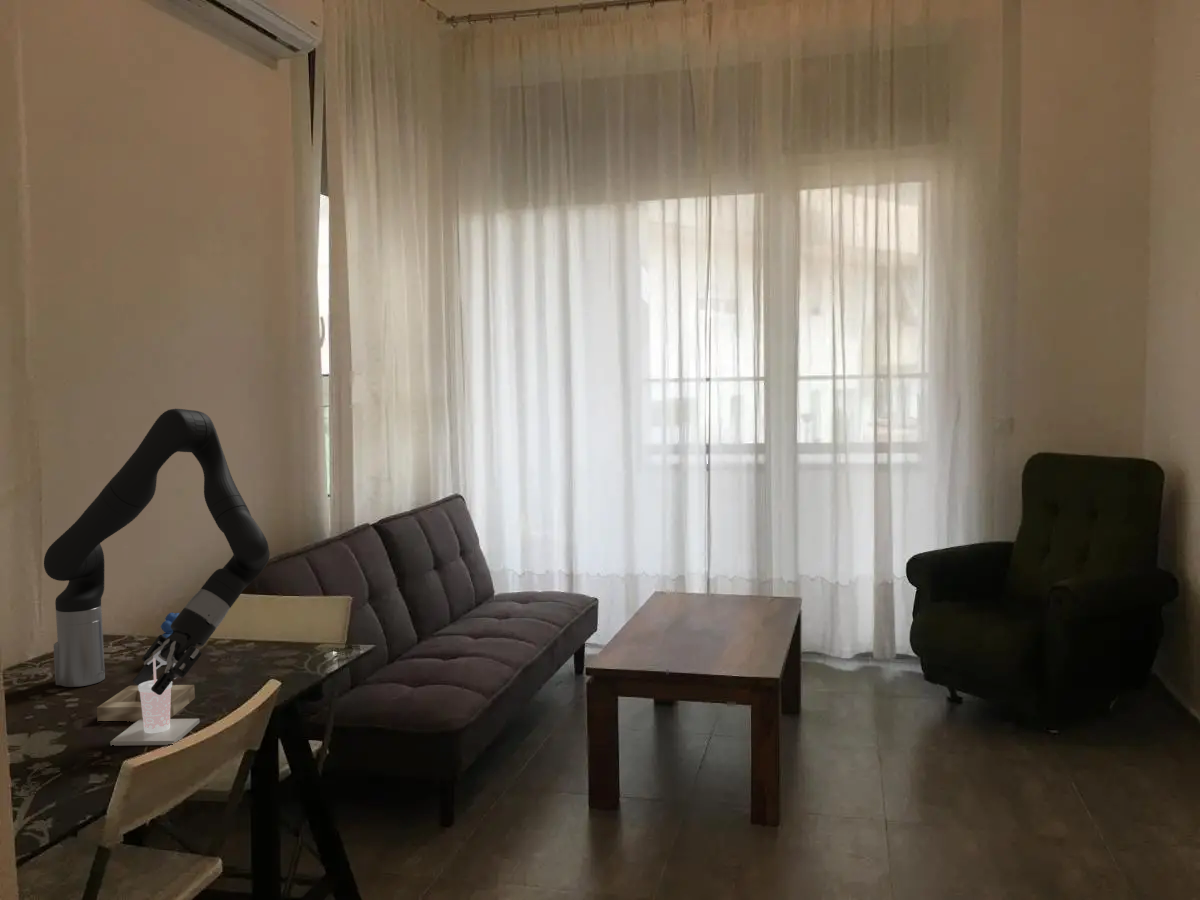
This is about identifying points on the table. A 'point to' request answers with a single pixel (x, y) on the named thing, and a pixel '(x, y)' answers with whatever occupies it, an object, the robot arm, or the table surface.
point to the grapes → (168, 624)
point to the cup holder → (129, 703)
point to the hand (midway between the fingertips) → (146, 688)
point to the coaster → (140, 737)
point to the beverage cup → (155, 706)
